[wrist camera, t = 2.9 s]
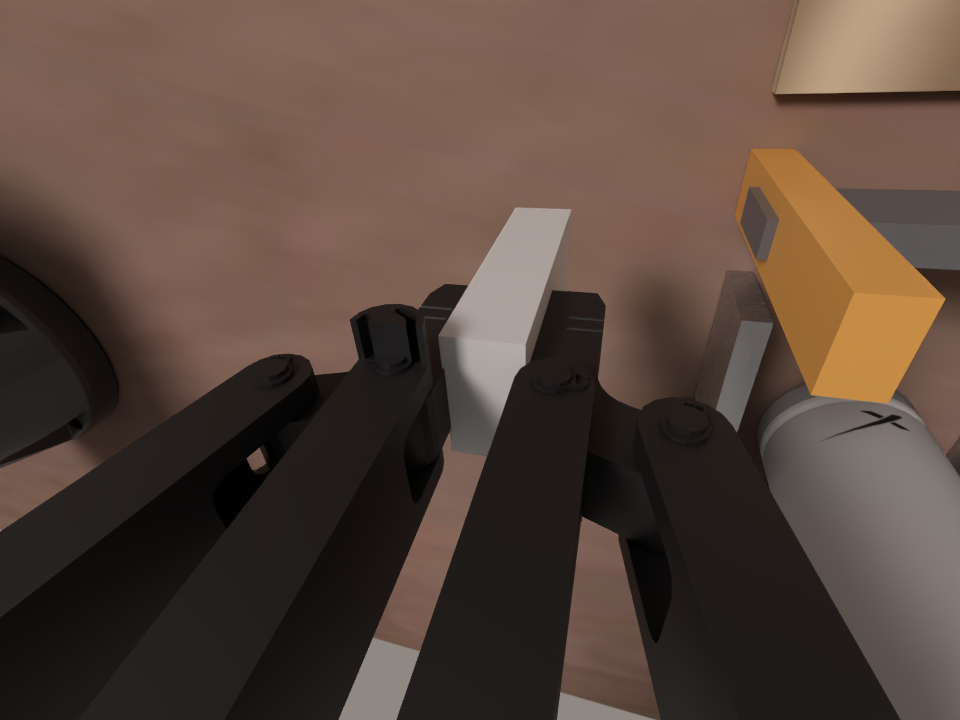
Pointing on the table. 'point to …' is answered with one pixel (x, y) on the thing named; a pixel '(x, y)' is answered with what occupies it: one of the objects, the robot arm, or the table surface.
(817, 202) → the bar
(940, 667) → the travel mug
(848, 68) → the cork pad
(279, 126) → the table surface
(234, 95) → the table surface
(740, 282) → the holder
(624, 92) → the table surface
